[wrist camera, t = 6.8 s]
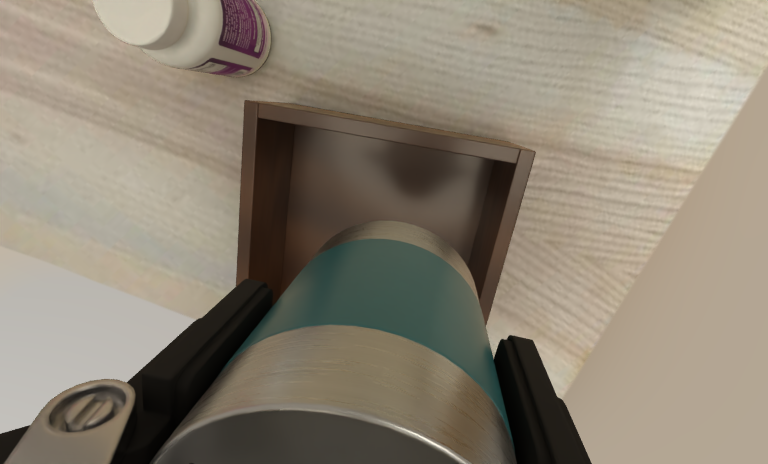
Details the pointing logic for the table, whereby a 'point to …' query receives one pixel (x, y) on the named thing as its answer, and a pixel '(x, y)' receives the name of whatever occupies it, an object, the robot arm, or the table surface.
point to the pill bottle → (192, 32)
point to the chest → (370, 189)
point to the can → (359, 366)
